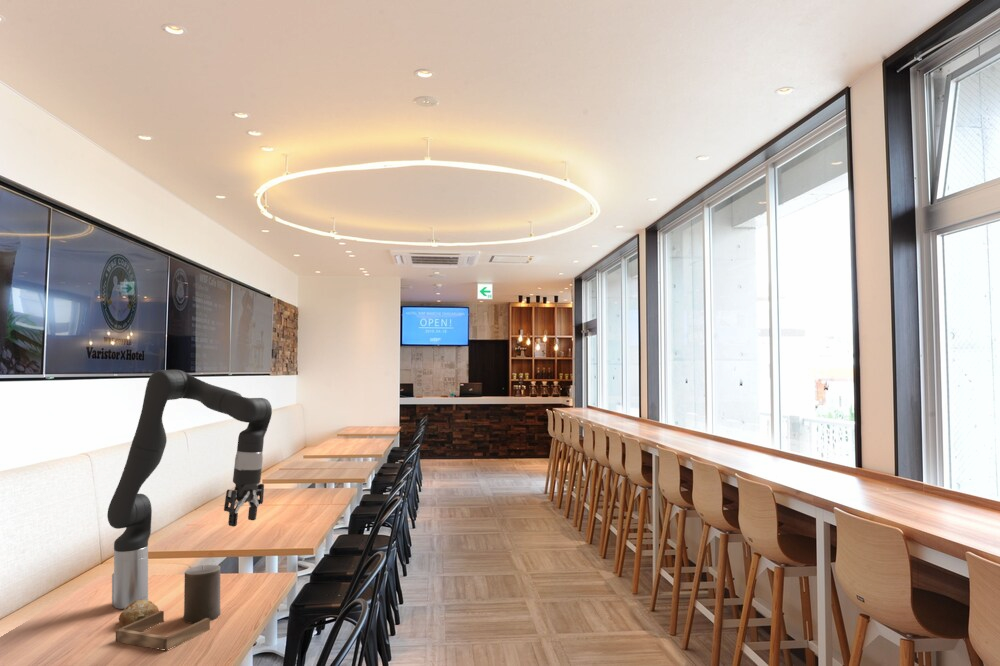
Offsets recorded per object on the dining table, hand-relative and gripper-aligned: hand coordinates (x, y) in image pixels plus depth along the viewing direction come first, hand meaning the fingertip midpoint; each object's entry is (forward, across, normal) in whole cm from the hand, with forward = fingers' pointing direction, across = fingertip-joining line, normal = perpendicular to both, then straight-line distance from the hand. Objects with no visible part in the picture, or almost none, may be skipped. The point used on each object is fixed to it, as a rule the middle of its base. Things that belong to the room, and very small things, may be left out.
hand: (242, 522), depth 188 cm
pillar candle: (+29, -1, -10) cm, 31 cm away
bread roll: (+31, +7, -26) cm, 41 cm away
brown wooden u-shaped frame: (+29, +12, -12) cm, 34 cm away
